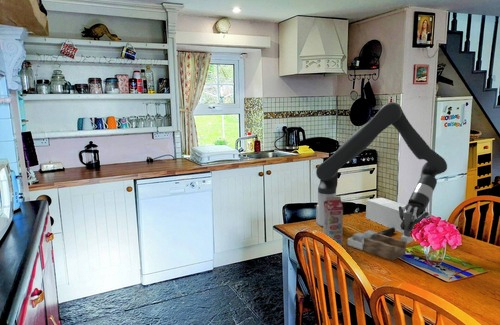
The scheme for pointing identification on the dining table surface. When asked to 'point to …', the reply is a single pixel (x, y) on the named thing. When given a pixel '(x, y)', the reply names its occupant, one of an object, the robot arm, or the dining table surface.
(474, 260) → the dining table surface
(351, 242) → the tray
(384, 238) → the wooden box
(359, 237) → the steel block
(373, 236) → the steel block
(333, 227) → the juice carton
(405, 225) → the scraper
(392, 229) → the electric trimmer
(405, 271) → the dining table surface
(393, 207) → the long white block
